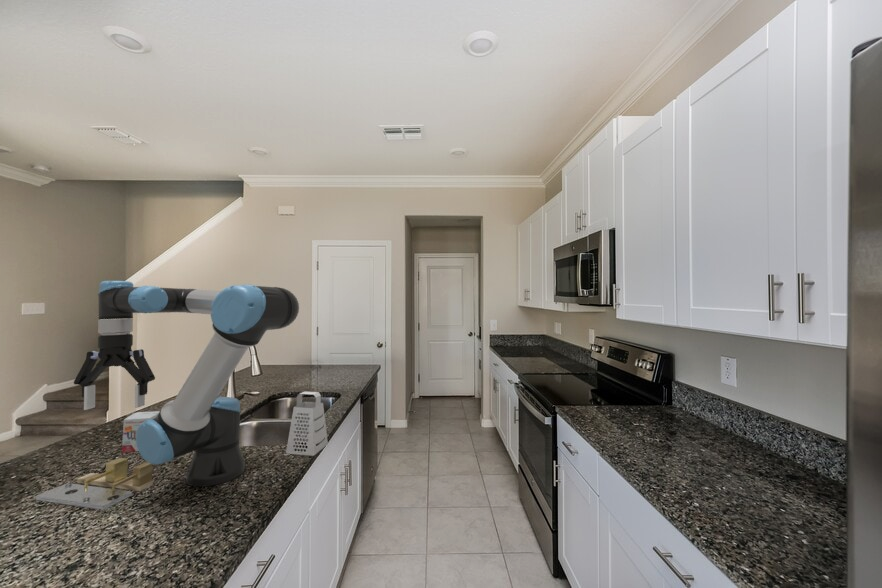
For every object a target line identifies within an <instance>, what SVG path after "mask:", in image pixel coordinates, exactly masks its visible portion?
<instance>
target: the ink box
mask: <svg viewBox="0 0 882 588" xmlns="http://www.w3.org/2000/svg"><path fill="white" fill-rule="evenodd" d="M159 412H160V410H158V411H154V410H153V411H137V412H134V413H132V414H131V415H129V416H127V417H126V418H124V419H123V422H122V423H123V425H122V442H121V443H122V445H121V446H122V447H121V453H122V454H124V453H123V452H127V453H135V452H134V451H138V448H137V444H136V432H137V429H138V427H139V426H140V424H142V423H143V422H145V421H147V420H149V419H154V418H156V417H157V415H158V414H159Z"/></svg>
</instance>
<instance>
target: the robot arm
mask: <svg viewBox="0 0 882 588" xmlns="http://www.w3.org/2000/svg"><path fill="white" fill-rule="evenodd" d="M97 297H98V320H97V321H98V322H97V324H98V325H97V326H98V327H97V333H98V334H100V335H99V336H98V337H97V347H98V348H99V351H98V350H90V351H88V352H86V356H85V360H84V362H83V364H82V366H81V368H80V370H79V371H78V373H77V375H76V377H75V379H74V381H73V384H74V385H77V386H80V387H81V398H82V399H83V411H87V410H91V409H93V408H95V407H96V384H95V382H96V380H97V379H98V378H99V377H100V376H101V374H103V372H104V371H105V370H106V369H107V368H108V367H110V368H111V367H121V368H123V369H124V370H126V371H127V372H128V374H129V375H130V376H131V377H132V378H133V379H134V380H135V382H137V383H136V384H135V385H134V409H135V408H136V409H138V408H142V407H144V406H145V405H146V403H145V402H146V401H145V399H146V396H145V395H147V394H148V383H150V382H153V381H154V380H155V379H156V376H155V374H154V373H153V371H152V369H151V367H150V365H149V363H148V360H147V359H146V357H145V351H144V349H142V348H141V349H136V350H135V349H134V350H132V347H133V345H134V335H133V334H132V332H133V331H134V329H133V328H134V314H152V313H153V314H155V313H156V314H158V313H159V314H161V313H163V314H164V313H186V314H199V315H200V314H201V315H202V314H203V315H210V318H211V322H212V324H211V325H212V326H211V327H212V330H213V331H214V334H213V335H212V337H211V338H210V341H209V342H208V344H207V345H206V347H205V348H204V350H203V352H202V353H201V355H200V357H199V358H198V360H197V361H196V364H195V365H194V366H193V369H192V370H191V372H190V374H189V375H188V377H187V378H186V380H185V382H184V383H183V385H182V387H181V388H180V390H179V392H178V393H177V395H176V396H175V398H174V399H173V400H169V401H167V402H166V403H165V404H164V405H163V406H162V407H161V409H160V410H159V411H160V412H159V414H158V415H157V417H156V418H154V419H149V420H147V421H145V422H143V423H142V424H140V426H139V427H138V429H137V432H136V444H137V448H138V451H139V452H138V453H139V454H140V456H141V457H142V459H143V460H144V461H145V462H148V463H150V464H153V465H161V464H164V463H169V462H172V461H174V460H176V459H178V458H181V457H182V456H185V455H187V454H190V453H193V452H194V453H193V454H192V457H191V460H190V464H189V467H188V469H187V470H186V473H185V474H186V477H185V482H186V483H187V484H188V485H190V486H193V487H209V486H211V487H212V486H216V485H220V484H223V483H226V482H227V483H228V482H229V481H232V480H234V479H237V478H238V477H239V476H241V475H242V474H243V473H244V472H245V469H246V467H245V465H246V464H245V463H246V461H245V458H243V454H242V450H241V447H240V430H241V429H240V426H241V413H242V411H241V402H240V400H239V399H238V398H235V397H229V396H220V394H221V392H222V391H223V389H224V387H225V386H226V385H227V383H228V381H229V379H230V377H231V375H232V374H233V373H234V371H235V369H236V368H237V367H238V365H239V364H240V362H241V360H242V359H243V357H244V355H245V354H246V352H247V351H248V349H249V348H250V347H255V346H257V345H258V344H259V343H260V341H261V339H262V338H263V337H264V335H265V333H266V332H267V331H270V330H271V331H272V330H280V329H284V328H287V327H288V326H290V325H291V324H293V323H294V321H295V320H296V318H297V317H298V314H299V312H300V303H299V300H298V299H297V297H296V295H295V294H294V293H292V292H291V291H290V290H289V289H286V288H284V287H283V288H282V287H277V286H261V285H252V284H249V283H248V284H247V283H246V284H245V283H244V284H234V285H230V286H227V287H225V288H224V289H222V290H214V289H213V290H212V289H210V290H209V289H208V290H207V289H196V288H177V287H176V288H172V287H171V288H170V287H159V286H155V285H154V286H153V285H142V286H134V283H133V282H132V281H128V280H126V281H125V280H103V281H101V282H100V283H99V289H98V293H97ZM132 358H133V359H132ZM98 360H99V361H98ZM97 361H98V362H97Z"/></svg>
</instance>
